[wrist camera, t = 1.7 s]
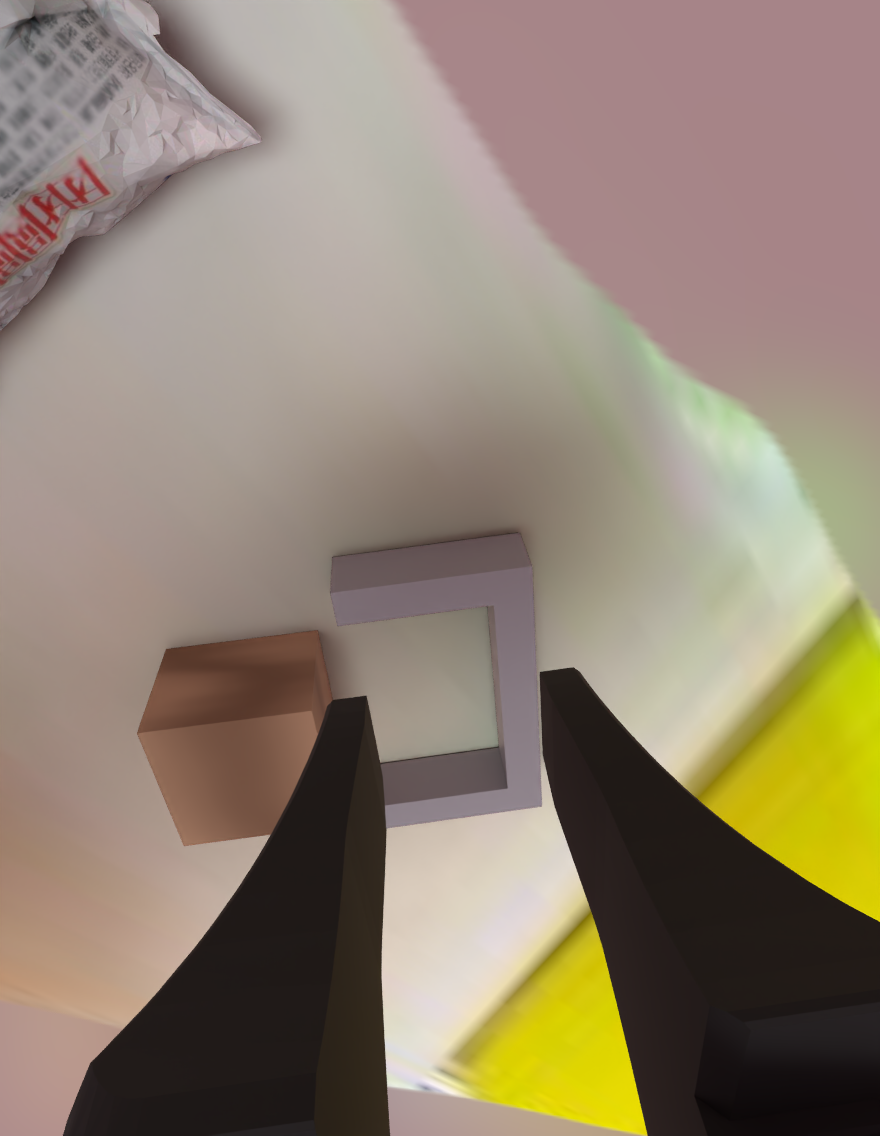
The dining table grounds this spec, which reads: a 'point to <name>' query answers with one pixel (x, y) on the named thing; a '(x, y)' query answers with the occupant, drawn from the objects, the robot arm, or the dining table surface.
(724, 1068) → the robot arm
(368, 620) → the purple-grey c-shaped block
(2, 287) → the packaged food
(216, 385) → the dining table surface
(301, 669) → the wooden cube block
